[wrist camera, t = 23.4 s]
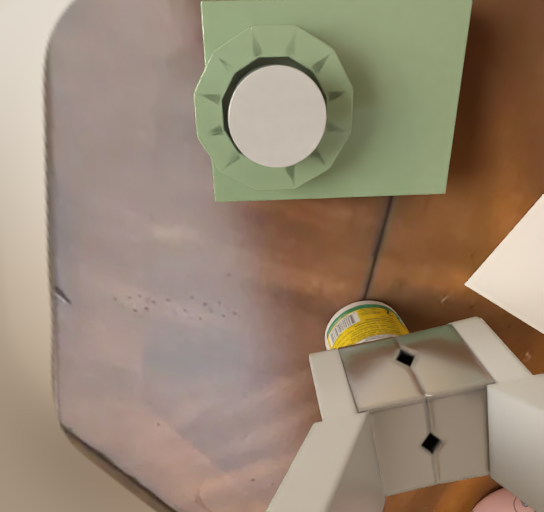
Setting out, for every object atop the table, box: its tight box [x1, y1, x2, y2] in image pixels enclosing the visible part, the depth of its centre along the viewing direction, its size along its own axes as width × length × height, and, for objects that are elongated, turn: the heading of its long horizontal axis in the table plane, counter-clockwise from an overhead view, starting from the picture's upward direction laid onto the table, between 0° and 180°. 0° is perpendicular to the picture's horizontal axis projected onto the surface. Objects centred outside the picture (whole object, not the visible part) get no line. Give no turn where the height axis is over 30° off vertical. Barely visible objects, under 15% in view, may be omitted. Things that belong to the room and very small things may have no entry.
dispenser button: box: [228, 64, 327, 168], centre depth 19 cm, size 4×4×2 cm
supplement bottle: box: [325, 300, 409, 350], centre depth 27 cm, size 5×5×10 cm
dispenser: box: [193, 0, 473, 202], centre depth 22 cm, size 12×9×5 cm
